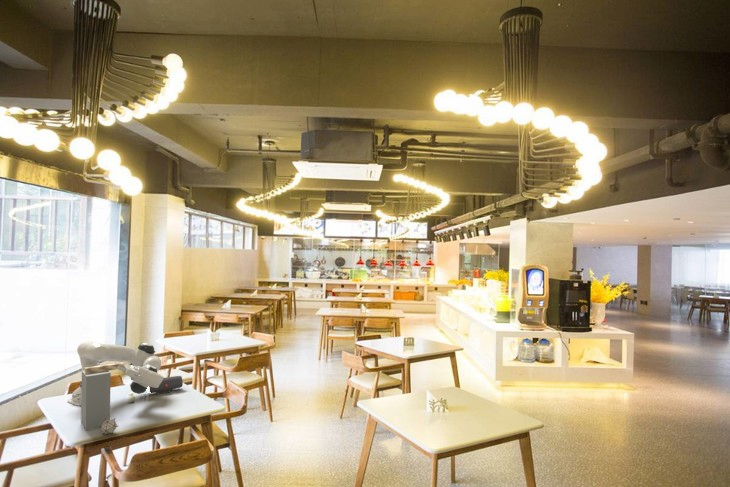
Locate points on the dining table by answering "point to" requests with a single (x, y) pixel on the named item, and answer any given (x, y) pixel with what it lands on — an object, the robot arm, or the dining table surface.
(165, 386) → the bluetooth speaker
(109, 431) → the dark-edged faceted part
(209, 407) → the dining table surface
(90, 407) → the stand
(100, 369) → the wooden bar
